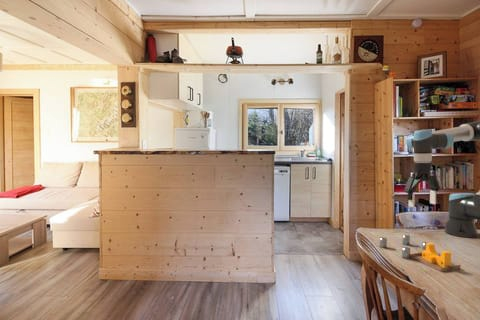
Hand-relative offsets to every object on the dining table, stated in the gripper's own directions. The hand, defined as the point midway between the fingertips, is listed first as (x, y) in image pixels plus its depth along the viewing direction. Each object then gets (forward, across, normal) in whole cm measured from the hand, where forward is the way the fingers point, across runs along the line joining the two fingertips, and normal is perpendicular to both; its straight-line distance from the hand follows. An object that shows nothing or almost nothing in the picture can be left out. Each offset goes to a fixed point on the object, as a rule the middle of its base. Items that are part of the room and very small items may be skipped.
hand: (422, 205), depth 148 cm
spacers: (+21, +10, 0) cm, 24 cm away
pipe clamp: (+21, +11, +16) cm, 29 cm away
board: (+21, +11, +15) cm, 28 cm away
